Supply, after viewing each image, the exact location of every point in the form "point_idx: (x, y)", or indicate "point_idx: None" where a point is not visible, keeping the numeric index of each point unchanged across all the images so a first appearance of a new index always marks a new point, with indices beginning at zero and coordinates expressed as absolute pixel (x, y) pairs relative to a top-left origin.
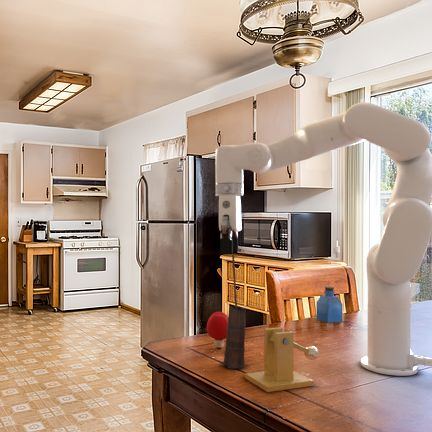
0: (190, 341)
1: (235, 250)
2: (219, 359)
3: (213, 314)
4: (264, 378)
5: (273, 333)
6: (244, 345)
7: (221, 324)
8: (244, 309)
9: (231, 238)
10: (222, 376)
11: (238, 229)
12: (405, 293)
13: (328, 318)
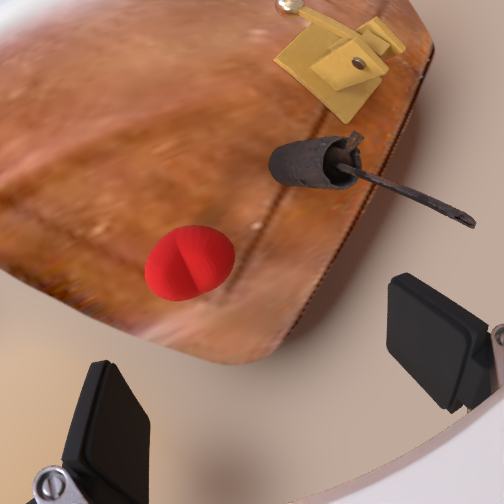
0: (176, 320)
1: (119, 376)
2: (264, 207)
3: (188, 292)
4: (353, 88)
5: (382, 56)
6: (298, 142)
7: (227, 241)
8: (357, 134)
9: (125, 488)
10: None
11: (494, 427)
12: None
13: None
